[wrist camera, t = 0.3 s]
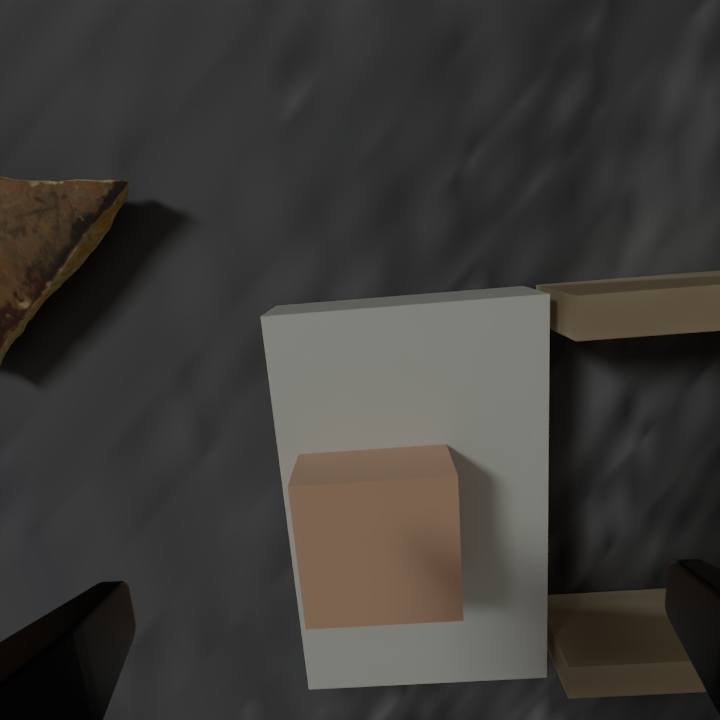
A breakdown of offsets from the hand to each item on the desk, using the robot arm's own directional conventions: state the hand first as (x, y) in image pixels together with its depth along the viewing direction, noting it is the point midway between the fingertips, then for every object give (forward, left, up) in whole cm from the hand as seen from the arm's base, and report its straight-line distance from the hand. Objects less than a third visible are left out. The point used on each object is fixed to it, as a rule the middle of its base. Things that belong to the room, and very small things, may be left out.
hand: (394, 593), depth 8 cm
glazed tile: (-5, +1, -10) cm, 11 cm away
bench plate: (-5, -1, -13) cm, 14 cm away
